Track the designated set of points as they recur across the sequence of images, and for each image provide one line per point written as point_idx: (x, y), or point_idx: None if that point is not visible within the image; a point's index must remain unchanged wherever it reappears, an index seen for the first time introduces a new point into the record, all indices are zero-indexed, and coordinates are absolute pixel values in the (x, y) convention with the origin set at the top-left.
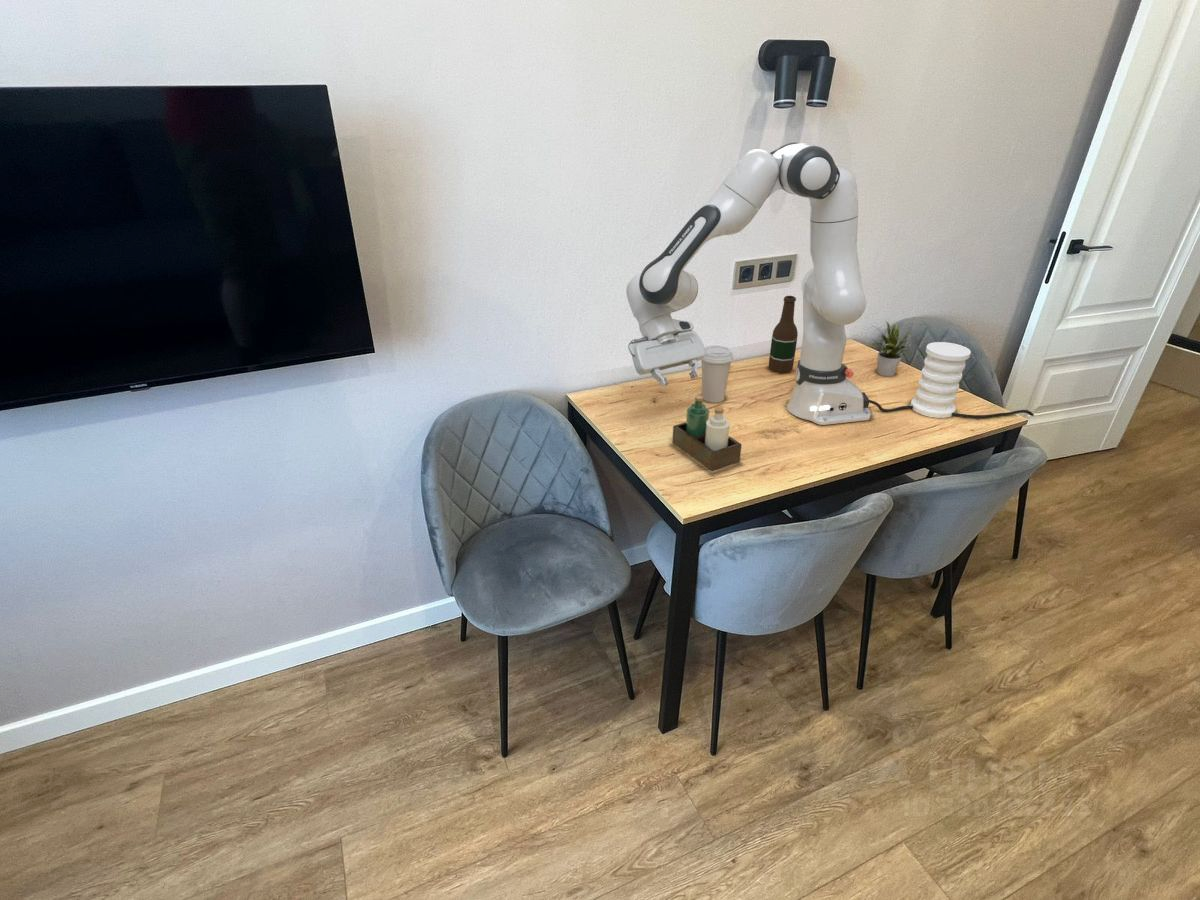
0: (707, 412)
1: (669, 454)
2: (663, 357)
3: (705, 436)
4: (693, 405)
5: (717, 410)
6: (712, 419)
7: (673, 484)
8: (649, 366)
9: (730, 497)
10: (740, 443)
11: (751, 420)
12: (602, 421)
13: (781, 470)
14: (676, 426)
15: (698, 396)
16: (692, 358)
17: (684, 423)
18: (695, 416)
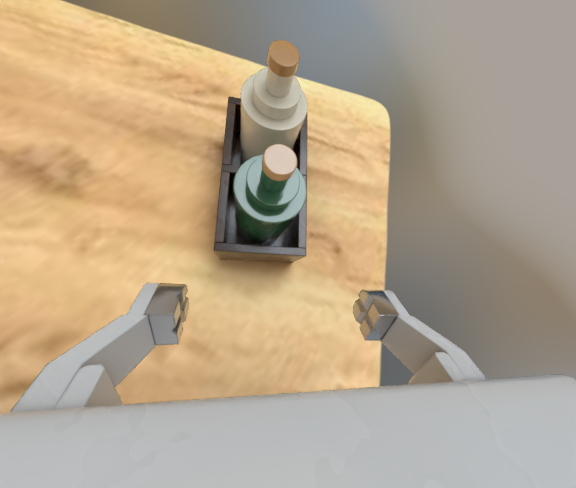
0: (254, 160)
1: (317, 238)
2: (476, 485)
3: (293, 145)
4: (283, 194)
5: (297, 50)
6: (297, 94)
7: (364, 162)
8: (565, 391)
9: (312, 87)
10: (228, 99)
11: (22, 250)
12: None
13: (180, 75)
14: (301, 248)
15: (280, 162)
16: (69, 408)
17: (273, 248)
18: (298, 171)
